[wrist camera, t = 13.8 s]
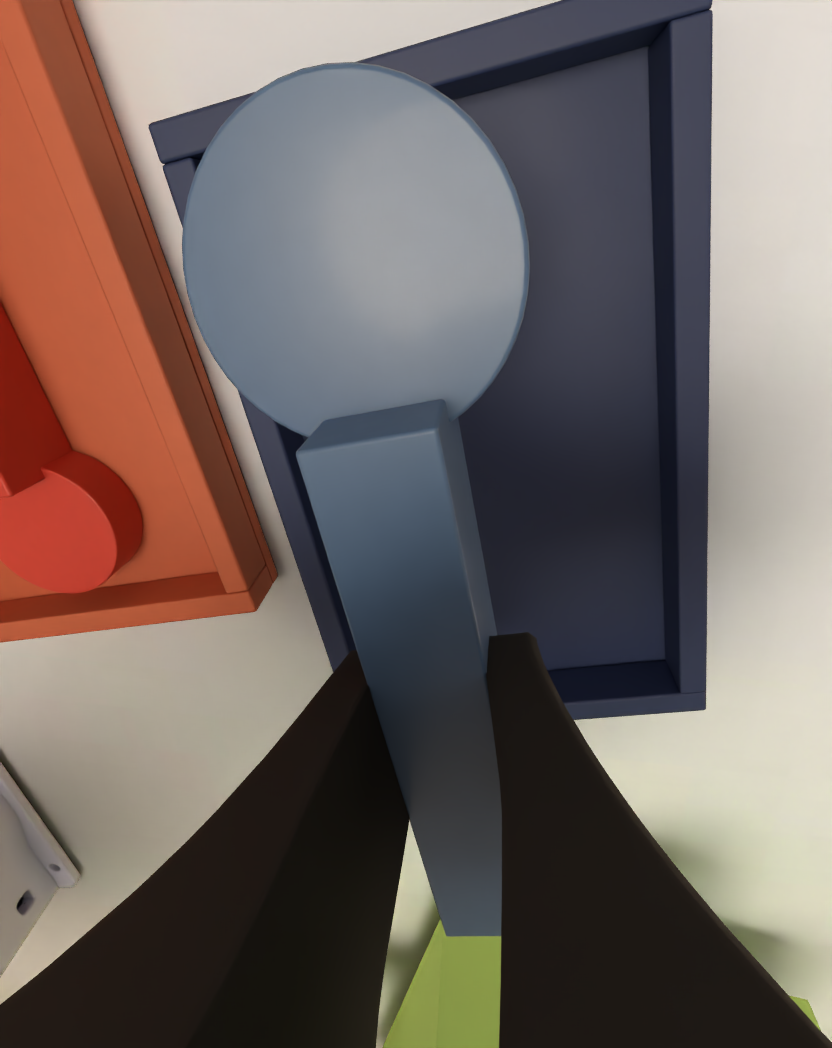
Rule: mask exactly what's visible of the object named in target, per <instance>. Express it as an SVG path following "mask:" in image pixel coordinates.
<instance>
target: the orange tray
mask: <svg viewBox="0 0 832 1048" xmlns="http://www.w3.org/2000/svg"><path fill="white" fill-rule="evenodd" d="M0 302H1V304H2V306H3V308H4V310H5V312H6V314H7V316H8V318H9V320H10V322H11V324H12V326H13V329H14V331H15V333H16V335H17V337H18V339H19V341H20V343H21V345H22V347H23V349H24V351H25V353H26V355H27V358H28V360H29V362H30V364H31V366H32V368H33V370H34V372H35V374H36V376H37V378H38V380H39V382H40V384H41V386H42V389H43V391H44V393H45V395H46V397H47V399H48V401H49V403H50V405H51V407H52V409H53V411H54V413H55V415H56V418H57V420H58V422H59V424H60V426H61V428H62V430H63V432H64V434H65V436H66V438H67V440H68V442H69V444H70V447H71V449H72V451H75V452H79V453H82V454H85V455H87V456H90V457H92V458H94V459H96V460H97V461H99V462H101V463H102V464H104V465H105V466H107V467H108V468H109V469H111V470H112V471H113V472H114V473H115V474H116V475H117V476H118V477H119V478H120V479H121V480H122V481H123V482H124V483H125V484H126V486H127V487H128V488H129V490H130V491H131V493H132V494H133V496H134V498H135V500H136V502H137V504H138V507H139V509H140V513H141V517H142V523H143V534H142V539H141V543H140V546H139V548H138V550H137V551H136V553H135V554H134V556H133V557H132V558H131V559H130V560H129V561H128V562H127V563H126V564H124V565H123V566H122V567H121V568H120V569H119V570H118V571H117V572H116V573H114V574H113V575H112V576H111V577H110V578H109V579H108V580H107V581H106V582H104V583H103V584H102V585H100V586H99V587H97V588H95V589H93V590H90V591H87V592H82V593H73V594H69V593H59V592H53V591H50V590H46V589H43V588H41V587H38V586H36V585H34V584H32V583H30V582H28V581H26V580H24V579H23V578H21V577H20V576H18V575H17V574H15V573H14V572H13V571H11V570H10V569H9V568H8V567H7V566H6V565H5V564H4V563H3V562H2V561H1V560H0V642H8V641H16V640H25V639H33V638H41V637H50V636H58V635H66V634H74V633H83V632H91V631H99V630H108V629H116V628H124V627H133V626H141V625H149V624H157V623H166V622H174V621H182V620H191V619H199V618H207V617H215V616H224V615H232V614H240V613H249V612H255V611H257V609H258V608H259V606H260V604H261V603H262V601H263V599H264V598H265V596H266V594H267V593H268V591H269V589H270V588H271V586H272V584H273V583H274V581H275V580H276V578H277V576H278V574H277V571H276V568H275V565H274V563H273V560H272V557H271V554H270V551H269V549H268V546H267V543H266V540H265V537H264V535H263V532H262V529H261V526H260V523H259V521H258V518H257V515H256V512H255V510H254V507H253V504H252V501H251V498H250V496H249V493H248V490H247V487H246V484H245V482H244V479H243V476H242V473H241V470H240V468H239V465H238V462H237V459H236V456H235V454H234V451H233V448H232V445H231V443H230V440H229V437H228V434H227V431H226V429H225V426H224V423H223V420H222V417H221V415H220V412H219V409H218V406H217V403H216V401H215V398H214V395H213V392H212V389H211V387H210V384H209V381H208V378H207V375H206V373H205V370H204V367H203V364H202V362H201V359H200V356H199V353H198V350H197V348H196V345H195V342H194V339H193V336H192V334H191V331H190V328H189V325H188V322H187V320H186V317H185V314H184V311H183V308H182V306H181V303H180V300H179V297H178V295H177V292H176V289H175V286H174V283H173V281H172V278H171V275H170V272H169V269H168V267H167V264H166V261H165V258H164V255H163V253H162V250H161V247H160V244H159V241H158V239H157V236H156V233H155V230H154V228H153V225H152V222H151V219H150V216H149V214H148V211H147V208H146V205H145V202H144V200H143V197H142V194H141V191H140V188H139V186H138V183H137V180H136V177H135V174H134V172H133V169H132V166H131V163H130V160H129V158H128V155H127V152H126V149H125V147H124V144H123V141H122V138H121V135H120V133H119V130H118V127H117V124H116V121H115V119H114V116H113V113H112V110H111V107H110V105H109V102H108V99H107V96H106V93H105V91H104V88H103V85H102V82H101V80H100V77H99V74H98V71H97V68H96V66H95V63H94V60H93V57H92V54H91V52H90V49H89V46H88V43H87V40H86V38H85V35H84V32H83V29H82V26H81V24H80V21H79V18H78V15H77V12H76V10H75V7H74V4H73V1H72V0H0Z"/></svg>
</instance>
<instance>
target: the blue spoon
mask: <svg viewBox="0 0 832 1048" xmlns="http://www.w3.org/2000/svg"><path fill="white" fill-rule="evenodd" d="M182 253H183V269H184V276H185V281H186V287H187V293H188V297H189V300H190V304H191V307H192V311H193V314H194V317H195V320H196V322H197V325H198V327H199V329H200V332H201V334H202V337H203V339H204V341H205V343H206V345H207V346H208V348H209V350H210V352H211V354H212V355H213V357H214V359H215V361H216V362H217V363H218V365H219V366H220V368H221V369H222V370H223V372H224V373H225V375H226V376H227V378H228V379H229V380H230V381H231V382H232V383H233V384H234V386H235V387H236V388H237V389H238V390H239V391H240V392H241V394H242V395H244V396H245V397H246V398H247V399H248V400H249V401H250V402H251V403H252V404H253V405H255V406H256V407H257V408H258V409H259V410H261V411H262V412H263V413H265V414H266V415H267V416H269V417H270V418H272V419H273V420H274V421H276V422H278V423H279V424H281V425H283V426H285V427H287V428H288V429H290V430H292V431H294V432H296V433H299V434H301V435H304V436H306V437H308V439H307V440H306V441H305V442H304V443H303V444H302V446H301V447H300V448H299V449H298V450H297V451H296V457H297V461H298V464H299V467H300V470H301V473H302V477H303V480H304V483H305V486H306V489H307V493H308V496H309V499H310V502H311V505H312V509H313V512H314V515H315V518H316V521H317V525H318V528H319V531H320V534H321V537H322V541H323V544H324V547H325V550H326V553H327V557H328V560H329V563H330V566H331V569H332V573H333V576H334V579H335V582H336V585H337V589H338V592H339V595H340V598H341V601H342V605H343V608H344V611H345V614H346V617H347V621H348V624H349V627H350V630H351V634H352V637H353V640H354V643H355V646H356V650H357V653H358V656H359V659H360V662H361V666H362V669H363V672H364V675H365V678H366V682H367V685H368V686H369V689H370V692H371V696H372V699H373V702H374V705H375V708H376V712H377V715H378V718H379V721H380V724H381V728H382V731H383V734H384V737H385V741H386V744H387V747H388V750H389V753H390V757H391V760H392V763H393V766H394V769H395V773H396V776H397V779H398V782H399V785H400V789H401V792H402V795H403V798H404V801H405V805H406V808H407V811H408V814H409V817H410V818H409V819H410V822H411V826H412V829H413V832H414V835H415V838H416V842H417V845H418V848H419V851H420V854H421V858H422V861H423V864H424V867H425V870H426V874H427V877H428V880H429V883H430V886H431V890H432V893H433V896H434V899H435V903H436V906H437V909H438V912H439V915H440V919H441V922H442V925H443V928H444V931H445V934H446V936H448V937H457V936H501V913H502V808H501V794H500V780H499V773H498V765H497V757H496V749H495V741H494V734H493V726H492V718H491V710H490V702H489V695H488V687H487V679H486V673H487V660H488V646H489V636H496V635H497V631H496V625H495V620H494V614H493V608H492V603H491V597H490V592H489V586H488V581H487V575H486V570H485V564H484V559H483V553H482V548H481V542H480V537H479V531H478V526H477V520H476V514H475V509H474V503H473V498H472V492H471V487H470V481H469V476H468V470H467V465H466V459H465V454H464V448H463V443H462V437H461V431H460V426H459V420H458V417H459V416H460V415H461V414H463V413H464V412H465V411H466V410H467V409H468V408H470V407H471V406H472V405H473V404H474V403H475V402H476V401H477V400H478V399H479V398H480V397H481V396H482V395H483V393H484V392H485V391H486V390H487V389H488V387H489V386H490V385H491V384H492V383H493V381H494V380H495V378H496V377H497V375H498V374H499V372H500V370H501V369H502V367H503V366H504V364H505V362H506V361H507V358H508V356H509V354H510V352H511V350H512V348H513V346H514V344H515V341H516V339H517V336H518V333H519V329H520V326H521V323H522V320H523V317H524V312H525V307H526V302H527V296H528V288H529V274H530V258H529V241H528V235H527V229H526V223H525V218H524V213H523V210H522V207H521V203H520V200H519V197H518V194H517V190H516V188H515V185H514V183H513V181H512V179H511V177H510V174H509V172H508V170H507V168H506V166H505V163H504V162H503V160H502V159H501V157H500V155H499V154H498V152H497V150H496V149H495V147H494V146H493V144H492V142H491V141H490V139H489V138H488V137H487V136H486V135H485V133H484V132H483V131H482V130H481V128H480V127H479V126H478V125H477V124H476V122H475V121H474V120H473V119H472V118H471V117H470V116H469V115H468V114H467V113H466V112H465V111H464V110H462V109H461V108H460V107H459V106H458V105H457V104H456V103H455V102H454V101H453V100H451V99H450V98H448V97H447V96H445V95H444V94H443V93H441V92H440V91H438V90H437V89H435V88H434V87H432V86H431V85H429V84H427V83H425V82H423V81H421V80H419V79H417V78H414V77H412V76H410V75H408V74H406V73H403V72H400V71H397V70H393V69H390V68H386V67H383V66H380V65H372V64H364V63H356V62H347V63H327V64H322V65H317V66H313V67H308V68H303V69H300V70H298V71H295V72H293V73H290V74H288V75H285V76H283V77H280V78H278V79H276V80H275V81H273V82H271V83H270V84H268V85H266V86H265V87H263V88H261V89H260V90H258V91H256V92H255V93H254V94H253V95H252V96H250V97H249V98H248V99H247V100H246V101H244V102H243V103H242V104H241V105H240V106H239V107H237V108H236V110H235V111H234V112H233V113H232V114H231V115H230V116H229V118H228V119H227V120H226V121H225V122H224V123H223V124H222V126H221V127H220V128H219V130H218V131H217V133H216V134H215V136H214V137H213V139H212V141H211V142H210V144H209V145H208V147H207V148H206V150H205V153H204V155H203V157H202V159H201V161H200V163H199V166H198V168H197V170H196V172H195V175H194V178H193V182H192V185H191V188H190V191H189V194H188V199H187V204H186V210H185V215H184V221H183V239H182Z"/></svg>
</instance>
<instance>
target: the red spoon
mask: <svg viewBox="0 0 832 1048" xmlns="http://www.w3.org/2000/svg"><path fill="white" fill-rule="evenodd" d="M142 534H143V523H142V517H141V513H140V509H139V507H138V504H137V502H136V500H135V498H134V496H133V494H132V493H131V491H130V490H129V488H128V487H127V486H126V484H125V483H124V482H123V481H122V480H121V479H120V478H119V477H118V476H117V475H116V474H115V473H114V472H113V471H112V470H111V469H109V468H108V467H107V466H105V465H104V464H102V463H101V462H99V461H97V460H96V459H94V458H92V457H90V456H87V455H85V454H82V453H79V452H75V451H72V449H71V447H70V444H69V442H68V440H67V438H66V436H65V434H64V432H63V430H62V428H61V426H60V424H59V422H58V420H57V418H56V415H55V413H54V411H53V409H52V407H51V405H50V403H49V401H48V399H47V397H46V395H45V393H44V391H43V389H42V386H41V384H40V382H39V380H38V378H37V376H36V374H35V372H34V370H33V368H32V366H31V364H30V362H29V360H28V358H27V355H26V353H25V351H24V349H23V347H22V345H21V343H20V341H19V339H18V337H17V335H16V333H15V331H14V329H13V326H12V324H11V322H10V320H9V318H8V316H7V314H6V312H5V310H4V308H3V306H2V304H1V302H0V560H1V561H2V562H3V563H4V564H5V565H6V566H7V567H8V568H9V569H10V570H11V571H13V572H14V573H15V574H17V575H18V576H20V577H21V578H23V579H24V580H26V581H28V582H30V583H32V584H34V585H36V586H38V587H41V588H43V589H46V590H50V591H53V592H59V593H69V594H73V593H82V592H87V591H90V590H93V589H95V588H97V587H99V586H100V585H102V584H103V583H104V582H106V581H107V580H108V579H109V578H110V577H111V576H112V575H113V574H114V573H116V572H117V571H118V570H119V569H120V568H121V567H122V566H123V565H124V564H126V563H127V562H128V561H129V560H130V559H131V558H132V557H133V556H134V554H135V553H136V551H137V550H138V548H139V546H140V543H141V539H142Z"/></svg>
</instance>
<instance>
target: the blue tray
mask: <svg viewBox="0 0 832 1048" xmlns="http://www.w3.org/2000/svg"><path fill="white" fill-rule="evenodd" d="M711 5H712V0H561V1H558V2H555V3H551V4H548V5H544V6H541V7H538V8H534V9H531V10H528V11H524V12H521V13H518V14H514V15H511V16H508V17H504V18H501V19H498V20H494V21H491V22H488V23H484V24H481V25H478V26H474V27H471V28H468V29H464V30H461V31H458V32H454V33H451V34H447V35H444V36H441V37H437V38H434V39H431V40H427V41H424V42H421V43H417V44H414V45H411V46H407V47H404V48H401V49H397V50H394V51H391V52H387V53H384V54H381V55H377V56H374V57H371V58H367V59H364V60H361V61H357V62H356V63H364V64H372V65H380V66H383V67H386V68H390V69H393V70H397V71H400V72H403V73H406V74H408V75H410V76H412V77H414V78H417V79H419V80H421V81H423V82H425V83H427V84H429V85H431V86H432V87H434V88H435V89H437V90H438V91H440V92H441V93H443V94H444V95H445V96H447V97H448V98H450V99H451V100H453V101H454V102H455V103H456V104H457V105H458V106H459V107H460V108H461V109H462V110H464V111H465V112H466V113H467V114H468V115H469V116H470V117H471V118H472V119H473V120H474V121H475V122H476V124H477V125H478V126H479V127H480V128H481V130H482V131H483V132H484V133H485V135H486V136H487V137H488V138H489V139H490V141H491V142H492V144H493V146H494V147H495V149H496V150H497V152H498V154H499V155H500V157H501V159H502V160H503V162H504V163H505V166H506V168H507V170H508V172H509V174H510V177H511V179H512V181H513V183H514V185H515V188H516V190H517V194H518V197H519V200H520V203H521V207H522V210H523V213H524V218H525V223H526V229H527V235H528V241H529V258H530V274H529V288H528V296H527V302H526V307H525V312H524V317H523V320H522V323H521V326H520V329H519V333H518V336H517V339H516V341H515V344H514V346H513V348H512V350H511V352H510V354H509V356H508V358H507V361H506V362H505V364H504V366H503V367H502V369H501V370H500V372H499V374H498V375H497V377H496V378H495V380H494V381H493V383H492V384H491V385H490V386H489V387H488V389H487V390H486V391H485V392H484V393H483V395H482V396H481V397H480V398H479V399H478V400H477V401H476V402H475V403H474V404H473V405H472V406H471V407H470V408H468V409H467V410H466V411H465V412H464V413H463V414H461V415H460V416H459V417H458V420H459V426H460V431H461V437H462V443H463V448H464V454H465V459H466V465H467V470H468V476H469V481H470V487H471V492H472V498H473V503H474V509H475V514H476V520H477V526H478V531H479V537H480V542H481V548H482V553H483V559H484V564H485V570H486V575H487V581H488V586H489V592H490V597H491V603H492V608H493V614H494V620H495V625H496V631H497V635H506V634H515V633H525V632H529V633H530V634H531V635H533V636H534V637H536V638H537V644H538V647H539V650H540V654H541V657H542V659H543V662H544V664H545V666H546V669H547V671H548V673H549V676H550V678H551V680H552V682H553V684H554V686H555V688H556V690H557V692H558V694H559V696H560V698H561V699H562V701H563V703H564V705H565V707H566V709H567V710H568V712H569V714H570V715H571V717H572V719H573V720H579V719H592V718H605V717H619V716H632V715H645V714H659V713H672V712H685V711H698V710H705V709H706V649H707V543H708V438H709V332H710V226H711V121H712V15H713V14H712V10H709V9H710V8H711ZM254 93H255V92H253V93H250V94H247V95H243V96H240V97H237V98H233V99H230V100H227V101H223V102H220V103H217V104H213V105H210V106H207V107H203V108H200V109H197V110H193V111H190V112H187V113H183V114H180V115H177V116H173V117H170V118H166V119H163V120H160V121H156V122H153V123H151V124H150V125H149V130H150V133H151V136H152V139H153V142H154V145H155V147H156V150H157V153H158V156H159V159H160V161H161V163H163V164H165V165H164V166H163V171H164V174H165V177H166V180H167V182H168V185H169V188H170V191H171V194H172V197H173V200H174V203H175V206H176V209H177V212H178V215H179V218H180V221H181V224H182V227H183V221H184V215H185V210H186V204H187V199H188V194H189V191H190V188H191V185H192V182H193V178H194V175H195V172H196V170H197V168H198V166H199V163H200V161H201V159H202V157H203V155H204V153H205V150H206V148H207V147H208V145H209V144H210V142H211V141H212V139H213V137H214V136H215V134H216V133H217V131H218V130H219V128H220V127H221V126H222V124H223V123H224V122H225V121H226V120H227V119H228V118H229V116H230V115H231V114H232V113H233V112H234V111H235V110H236V108H237V107H239V106H240V105H241V104H242V103H243V102H244V101H246V100H247V99H248V98H249V97H250V96H252V95H253V94H254ZM238 392H239V395H240V398H241V401H242V404H243V407H244V410H245V413H246V416H247V419H248V422H249V424H250V427H251V430H252V433H253V436H254V439H255V442H256V445H257V448H258V451H259V454H260V457H261V460H262V463H263V466H264V469H265V472H266V475H267V478H268V481H269V484H270V486H271V489H272V492H273V495H274V498H275V501H276V504H277V507H278V510H279V513H280V516H281V519H282V522H283V525H284V528H285V531H286V534H287V537H288V540H289V543H290V545H291V548H292V551H293V554H294V557H295V560H296V563H297V566H298V569H299V572H300V575H301V578H302V581H303V584H304V587H305V590H306V593H307V596H308V599H309V602H310V605H311V607H312V610H313V613H314V616H315V619H316V622H317V625H318V628H319V631H320V634H321V637H322V640H323V643H324V646H325V649H326V652H327V655H328V658H329V661H330V664H331V666H332V669H333V672H334V671H335V670H336V669H337V667H338V666H339V665H340V664H341V662H342V661H343V660H344V659H345V657H346V656H347V655H348V654H349V653H350V651H351V650H356V646H355V643H354V640H353V637H352V634H351V630H350V627H349V624H348V621H347V617H346V614H345V611H344V608H343V605H342V601H341V598H340V595H339V592H338V589H337V585H336V582H335V579H334V576H333V573H332V569H331V566H330V563H329V560H328V557H327V553H326V550H325V547H324V544H323V541H322V537H321V534H320V531H319V528H318V525H317V521H316V518H315V515H314V512H313V509H312V505H311V502H310V499H309V496H308V493H307V489H306V486H305V483H304V480H303V477H302V473H301V470H300V467H299V464H298V461H297V457H296V451H297V450H298V449H299V448H300V447H301V446H302V444H303V443H304V442H305V441H306V440H307V439H308V437H306V436H304V435H301V434H299V433H296V432H294V431H292V430H290V429H288V428H287V427H285V426H283V425H281V424H279V423H278V422H276V421H274V420H273V419H272V418H270V417H269V416H267V415H266V414H265V413H263V412H262V411H261V410H259V409H258V408H257V407H256V406H255V405H253V404H252V403H251V402H250V401H249V400H248V399H247V398H246V397H245V396H244V395H242V394H241V392H240V391H239V390H238Z"/></svg>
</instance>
